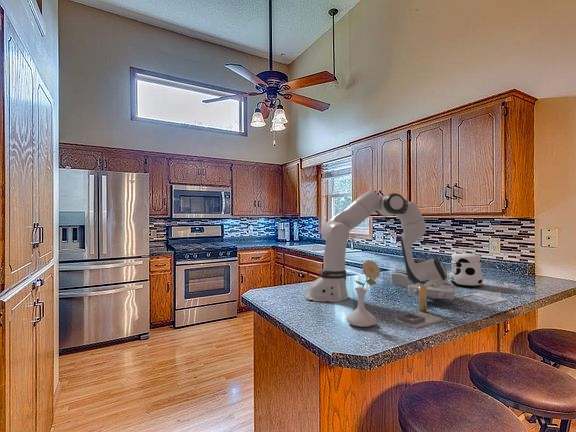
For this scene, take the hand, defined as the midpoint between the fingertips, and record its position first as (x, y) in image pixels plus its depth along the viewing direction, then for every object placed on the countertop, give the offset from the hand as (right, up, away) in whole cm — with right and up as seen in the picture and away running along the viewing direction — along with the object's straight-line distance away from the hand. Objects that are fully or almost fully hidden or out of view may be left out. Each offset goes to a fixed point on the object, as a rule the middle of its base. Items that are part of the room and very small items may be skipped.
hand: (426, 294), depth 140 cm
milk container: (+43, -6, +44) cm, 62 cm away
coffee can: (+20, -6, +51) cm, 55 cm away
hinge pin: (-4, -6, -6) cm, 9 cm away
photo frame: (+33, -6, +14) cm, 36 cm away
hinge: (+6, -6, +42) cm, 43 cm away
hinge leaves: (-11, -6, -17) cm, 21 cm away
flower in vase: (-34, -6, -21) cm, 40 cm away
